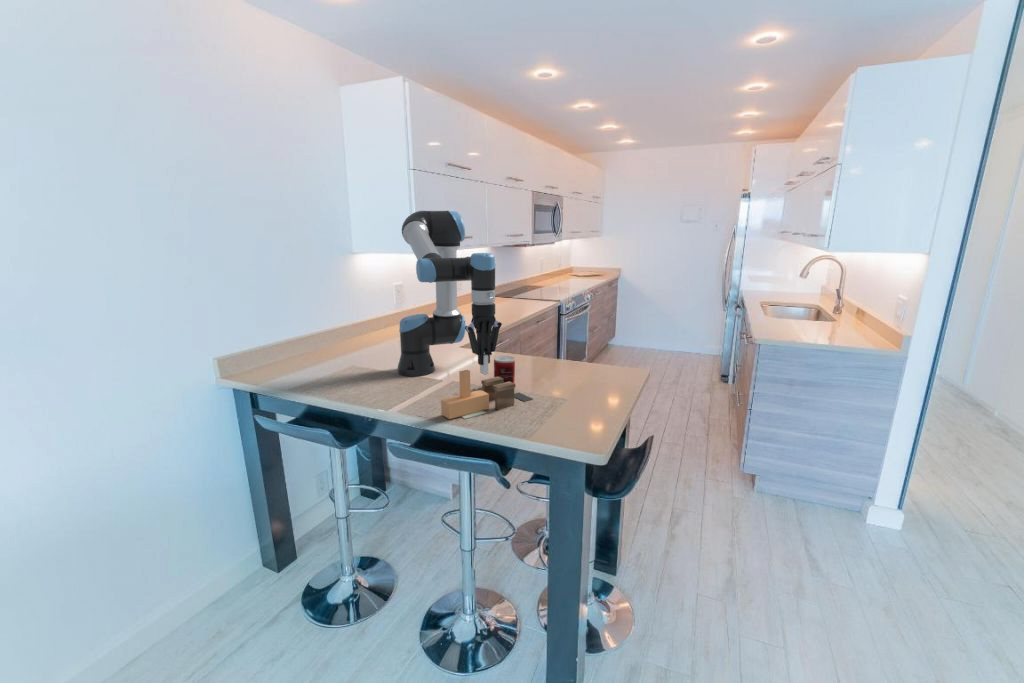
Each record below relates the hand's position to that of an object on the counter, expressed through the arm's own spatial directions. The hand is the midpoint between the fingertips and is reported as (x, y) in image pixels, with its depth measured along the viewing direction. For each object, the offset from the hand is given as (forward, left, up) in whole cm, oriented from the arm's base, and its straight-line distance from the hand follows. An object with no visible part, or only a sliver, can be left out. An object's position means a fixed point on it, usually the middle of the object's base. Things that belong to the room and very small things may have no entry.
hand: (484, 373), depth 153 cm
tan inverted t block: (0, -8, -12) cm, 14 cm away
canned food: (-13, +17, -12) cm, 25 cm away
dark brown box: (0, +5, -12) cm, 13 cm away
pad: (0, -7, -12) cm, 13 cm away
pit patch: (0, +15, -12) cm, 19 cm away
